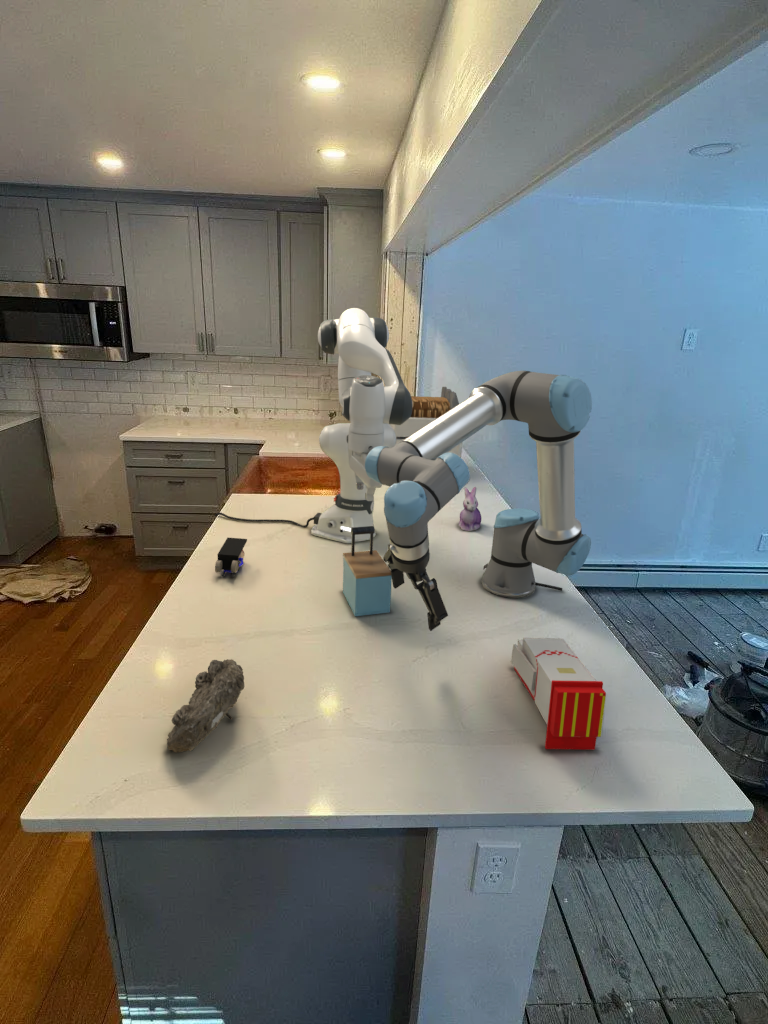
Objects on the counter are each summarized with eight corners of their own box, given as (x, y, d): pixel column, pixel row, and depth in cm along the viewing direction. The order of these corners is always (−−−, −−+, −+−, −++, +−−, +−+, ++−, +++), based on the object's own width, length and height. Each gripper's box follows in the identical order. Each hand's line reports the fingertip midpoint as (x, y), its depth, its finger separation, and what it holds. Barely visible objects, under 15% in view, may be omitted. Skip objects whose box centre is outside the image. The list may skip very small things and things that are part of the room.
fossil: (192, 660, 117) (244, 628, 112) (224, 691, 120) (276, 661, 115) (142, 746, 98) (202, 712, 93) (182, 779, 101) (242, 748, 96)
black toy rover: (238, 584, 162) (249, 557, 175) (236, 562, 158) (247, 536, 172) (215, 584, 161) (227, 556, 175) (212, 561, 158) (225, 535, 171)
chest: (342, 591, 158) (343, 556, 154) (375, 588, 160) (376, 554, 157) (354, 616, 145) (355, 579, 142) (390, 612, 148) (391, 575, 144)
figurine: (467, 533, 203) (471, 493, 198) (451, 523, 211) (454, 485, 206) (488, 529, 207) (492, 490, 202) (471, 520, 215) (475, 482, 210)
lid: (342, 555, 154) (343, 525, 151) (376, 553, 157) (377, 522, 154) (355, 578, 142) (356, 545, 139) (391, 575, 144) (393, 542, 141)
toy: (559, 621, 128) (615, 689, 99) (553, 675, 131) (607, 757, 102) (506, 620, 128) (547, 687, 99) (501, 674, 131) (540, 756, 101)
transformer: (382, 463, 289) (386, 382, 275) (445, 464, 293) (451, 384, 279) (390, 482, 257) (394, 392, 243) (460, 483, 261) (468, 394, 247)
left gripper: (390, 452, 135) (387, 506, 139) (367, 433, 153) (365, 482, 158) (364, 452, 133) (363, 508, 137) (344, 434, 151) (343, 483, 156)
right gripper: (359, 518, 117) (371, 577, 133) (433, 600, 102) (436, 655, 118) (389, 501, 119) (398, 561, 135) (465, 579, 105) (465, 635, 120)
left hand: (364, 494), depth 148 cm, fingers open, 8 cm apart
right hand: (416, 605), depth 127 cm, fingers open, 13 cm apart
